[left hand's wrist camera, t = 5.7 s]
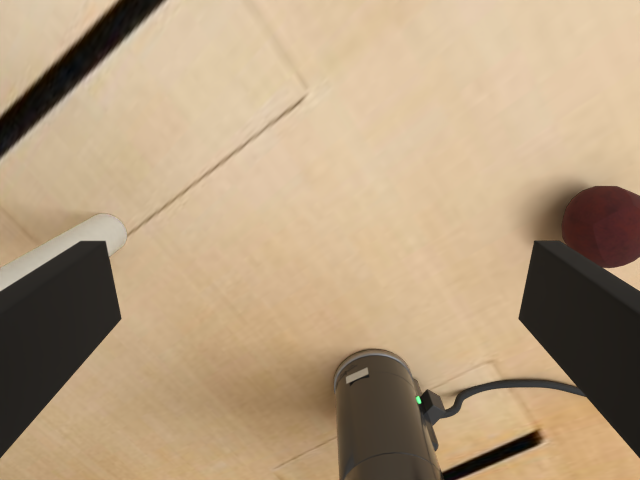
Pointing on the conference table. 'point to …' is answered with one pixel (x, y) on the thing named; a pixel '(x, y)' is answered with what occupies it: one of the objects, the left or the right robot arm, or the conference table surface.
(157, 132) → the conference table surface
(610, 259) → the potato
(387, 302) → the conference table surface
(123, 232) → the bottle
